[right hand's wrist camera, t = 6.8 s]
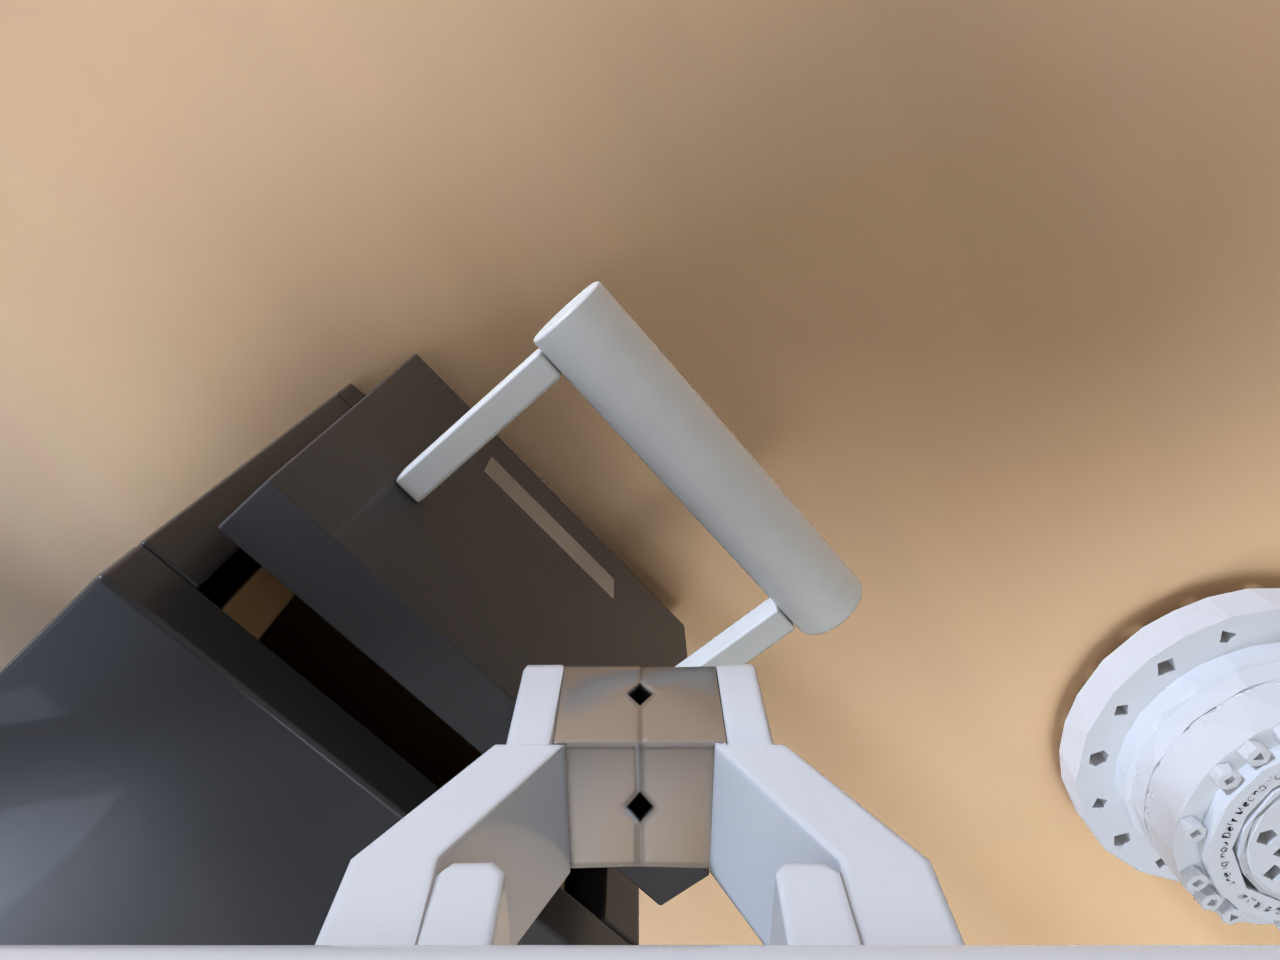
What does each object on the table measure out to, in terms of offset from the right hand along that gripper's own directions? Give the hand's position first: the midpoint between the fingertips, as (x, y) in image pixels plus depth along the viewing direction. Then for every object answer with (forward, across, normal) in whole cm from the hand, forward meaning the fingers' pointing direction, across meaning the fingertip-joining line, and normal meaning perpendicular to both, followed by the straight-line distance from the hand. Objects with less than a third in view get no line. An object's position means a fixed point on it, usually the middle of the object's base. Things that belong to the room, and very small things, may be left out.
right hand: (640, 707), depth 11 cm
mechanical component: (+12, +18, -9) cm, 23 cm away
